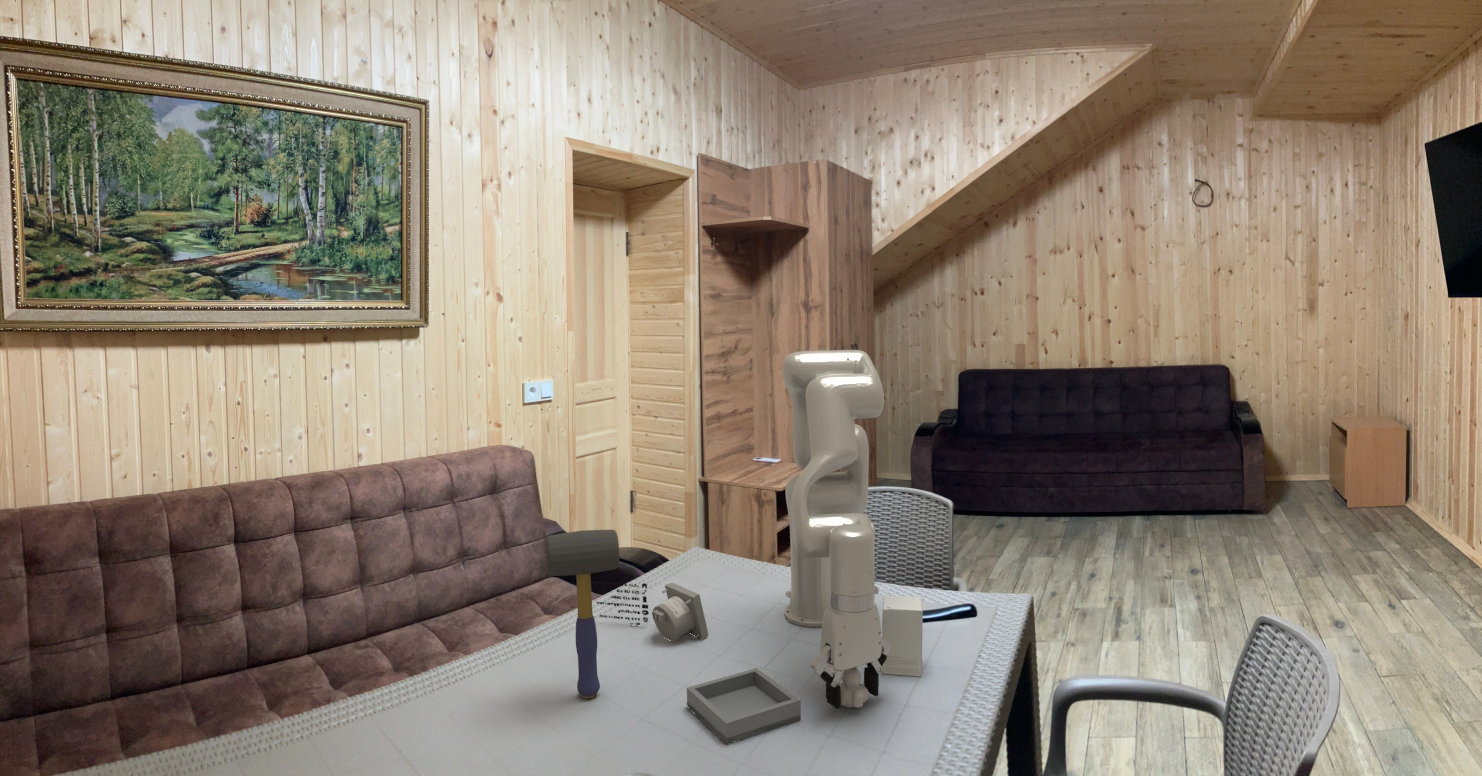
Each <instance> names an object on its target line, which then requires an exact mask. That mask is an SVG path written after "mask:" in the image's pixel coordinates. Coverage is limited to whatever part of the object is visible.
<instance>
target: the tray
mask: <svg viewBox="0 0 1482 776" xmlns="http://www.w3.org/2000/svg"><path fill="white" fill-rule="evenodd" d="M801 705H802V703H801V699H800V698H798V697H797V696H795V695H794V694H793V693H791V692H790V691H788V689H786V688H785V687H783V686H782V685H780V684H779V683H778V682H777V681H775V680H774V679H772V678H771V677H770V676H768V675H767V674H766V673H764V672H763V671H762V670H760V669H759V668H758V667H755V668H752V669H748V670H744V671H741V672H740V671H739V672H737V673H733V674H730V675H727V676H722V677H720V678H716V679H713V680H712V679H711V680H709V681H706V682H701V683H698V684H694V685H691V686H688V687H686V707H687V706H688V707H689V708H690V709H691V710H692V711H693V712H694V713H695V714H696V715H697V716H698V717H699V718H700V719H701V720H702V721H701V720H700V719H699V718H698V717H697V716H696V715H695V714H694V713H693V712H692V711H691V710H690V709H689V708H688V707H687V708H688V709H689V710H690V711H691V712H692V713H693V714H694V715H695V716H696V717H697V718H698V719H699V720H700V721H701V722H702V723H704V724H705V726H706V727H707V728H709V729H710V730H711V731H712V732H713V731H714V732H715V733H716V734H717V735H718V736H719V737H720V738H719V737H718V738H719V739H720V740H722V741H723V742H724V743H725V744H726V745H729V743H730V744H732V742H733V743H735V742H734V741H736V742H737V741H738V740H739V741H741V739H742V740H744V739H749V738H751V737H754V736H757V735H760V734H762V733H766V732H768V731H772V730H775V729H778V728H780V727H784V726H788V725H790V724H793V723H796V722H800V721H801V720H802V718H801V717H802V716H801V715H802V714H801V709H802V708H801ZM714 732H713V733H714ZM715 733H714V734H715ZM716 734H715V735H716ZM717 735H716V736H717ZM739 741H738V742H739Z"/></svg>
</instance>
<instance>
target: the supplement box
mask: <svg viewBox="0 0 1482 776" xmlns="http://www.w3.org/2000/svg"><path fill="white" fill-rule="evenodd" d="M923 615H924V613H923V599H922V597H921V596H905V595H904V596H902V595H901V596H900V595H883V597H882V614H881V618H882V622H881V625H882V626H881V636H882V638H883V639H885V640H886V641H888V642H889V643H891V644H892V648H891V650H890V651H889V653H888V655H887V659H886V661H885V662H884V664H883V665H882V671H881V673H882V674H883V675H893V676H894V675H895V676H907V677H908V676H909V677H922V675H923V629H924V628H923V626H924V624H923V623H924V621H923Z"/></svg>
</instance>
